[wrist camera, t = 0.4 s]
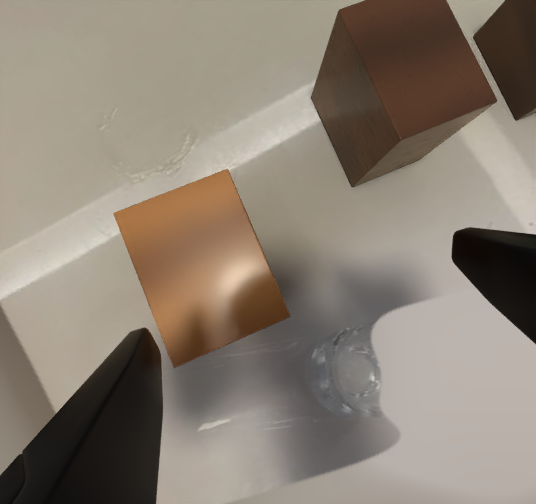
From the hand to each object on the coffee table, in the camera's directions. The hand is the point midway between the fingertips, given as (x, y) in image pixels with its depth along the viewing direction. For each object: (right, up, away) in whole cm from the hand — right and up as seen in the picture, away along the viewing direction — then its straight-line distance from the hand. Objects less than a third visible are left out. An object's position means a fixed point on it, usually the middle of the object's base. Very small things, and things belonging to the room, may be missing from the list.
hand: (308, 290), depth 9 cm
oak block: (-5, 0, +14) cm, 15 cm away
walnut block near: (+7, +11, +16) cm, 21 cm away
